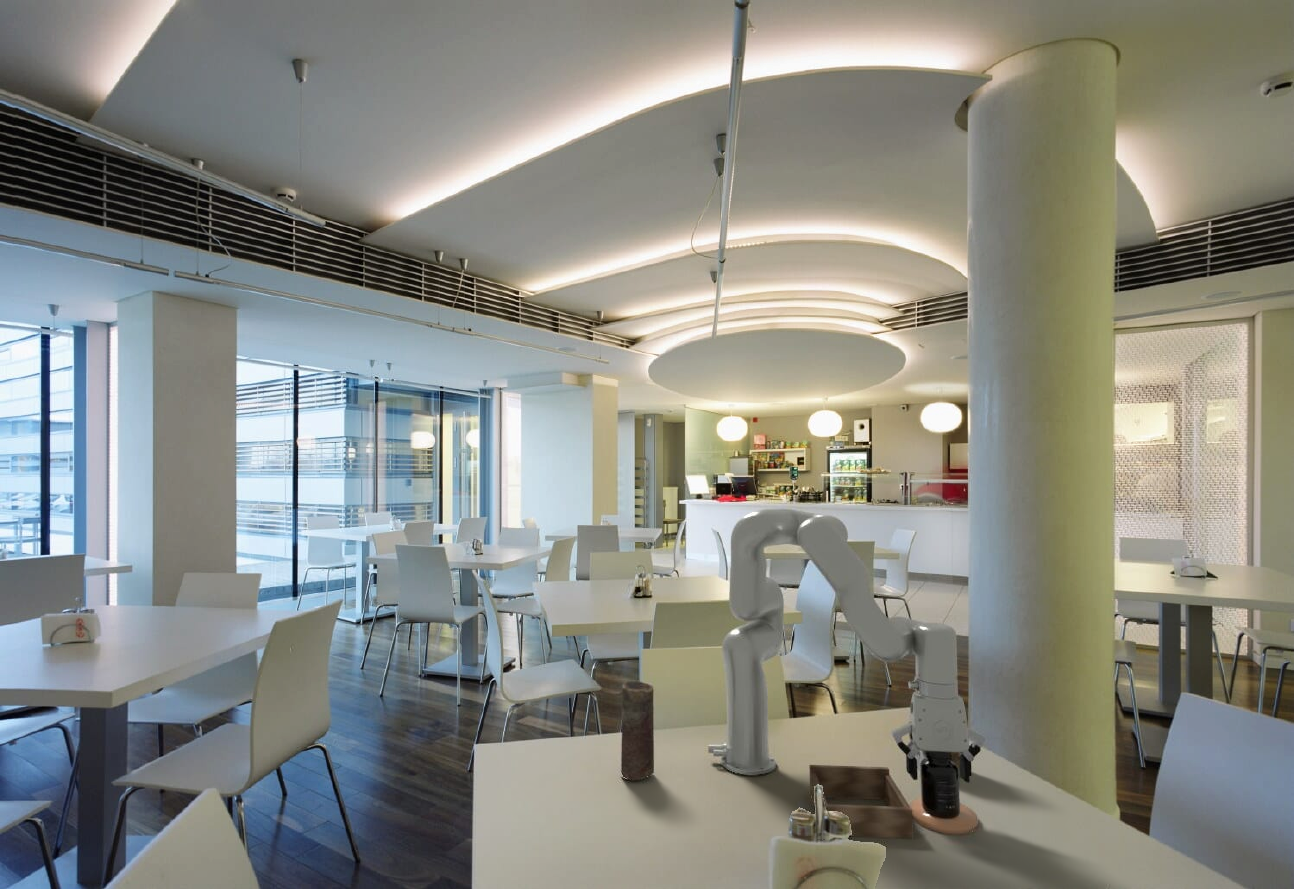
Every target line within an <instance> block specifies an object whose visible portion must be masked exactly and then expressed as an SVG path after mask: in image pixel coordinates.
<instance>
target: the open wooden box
mask: <svg viewBox="0 0 1294 889" xmlns="http://www.w3.org/2000/svg"><path fill="white" fill-rule="evenodd" d="M808 767H809V794H811V795H810V797H811V796H812V798H811V801H812V800H813V801H812V804H813V805H814V804H815V803H814V786H816V785H817V784H819V785H822V786H823V792H824V794H823V798H824V802H825V807H826V810H827V811H838V812H842V813H843V814H845V815H847V816H848V817H849V820H850V824H851V830H852V836H851V837H867V836H870V838H871V837H872V838H873V837H874V838H893V839H894V838H897V839H914V830H913V829H914V828H913V827H914V825H913V821H914V820H913V819H912V809H911V807H910V806H909V805H910V803H908V801H907V800H906V798H905V797H904V795H903V793H902V791H900V788H899V787H898V786H897V784H896V782H895V781H894V779H893V778H892V776H891V775H890V768H889V767H888V766H885V767H884V766H860V765H857V766H855V765H825V764H820V765H819V764H809V766H808ZM826 798H833V799H834V798H836V799H837V798H838V799H839V798H840V799H859V800H860V799H862V800H863V799H864V800H866V799H867V800H868V799H869V800H885V801H886V803H887V806H886V805H882V806H881V805H864V804H863V805H859V804H858V805H857V804H856V805H855V804H854V805H853V804H832V803H831V804H830V803H829V804H828V802H827V799H826Z"/></svg>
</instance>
